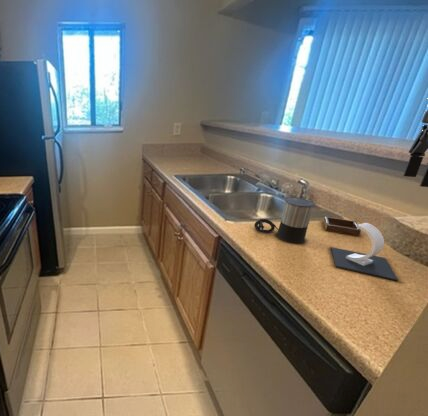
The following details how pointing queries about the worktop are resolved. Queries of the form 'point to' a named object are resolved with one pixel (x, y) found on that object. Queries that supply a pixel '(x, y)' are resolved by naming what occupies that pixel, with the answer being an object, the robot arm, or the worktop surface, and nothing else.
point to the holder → (339, 229)
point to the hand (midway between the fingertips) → (417, 181)
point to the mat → (374, 269)
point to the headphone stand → (376, 244)
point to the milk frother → (291, 220)
